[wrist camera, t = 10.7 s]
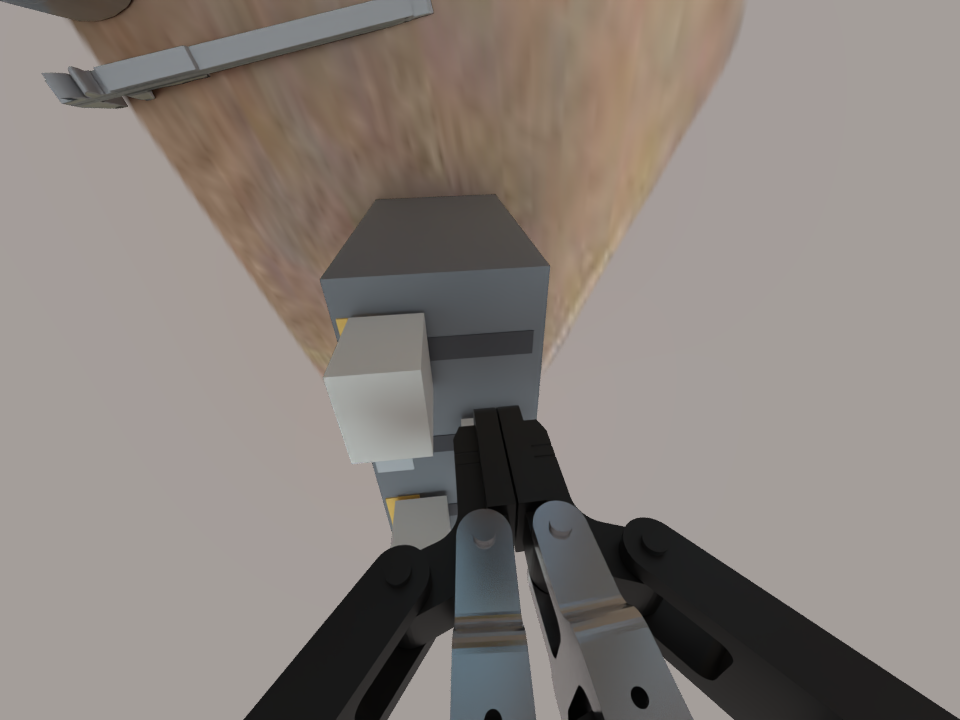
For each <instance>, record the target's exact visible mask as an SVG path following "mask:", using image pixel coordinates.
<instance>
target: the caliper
mask: <svg viewBox="0 0 960 720" xmlns="http://www.w3.org/2000/svg"><path fill="white" fill-rule="evenodd" d="M430 14H433V9H432V4H431V0H373V1H369V2H365V3H361V4H357V5H353V6H349V7H345V8H341V9H337V10H333V11H329V12H325V13H321V14H317V15H313V16H309V17H305V18H301V19H297V20H293V21H289V22H285V23H281V24H277V25H273V26H269V27H265V28H261V29H257V30H253V31H249V32H245V33H241V34H237V35H233V36H229V37H225V38H221V39H217V40H213V41H209V42H205V43H201V44H197V45H193V46H189V47H187V46H179V47H175V48H171V49H167V50H163V51H159V52H155V53H150V54H146V55H142V56H138V57H134V58H130V59H126V60H122V61H118V62H114V63H110V64H105V65H101V66H98V67H94V70H93V71H83V70H81V69H78V68H75V67H68V71H69V73H70V74H71V75H69V74H65V73H42V75H43V76H44V78H45V79H46V80H45V82H46V83H47V84H48V86H49V87H50V88H51V90H52V91H53V92H54V94H55V95H56V96H57V98H58V99H59V100H60V102H61V103H62V104H66V105H71V106H77V107H82V108H115V109H117V108H124V107H128V105H127V104H126V102H125V101H124V99H123V98H122V96H129V97H132V98H136V99H140V100H146V101H148V100H152V99H155V97H154V95H153V93H152V92H151V90H154V89H158V88H161V87H168V86H173V85H179V84H184V83H187V82H190V81H193V80H198V79H203V78H207V77H210V73H214V72H218V71H222V70H225V69H229V68H233V67H237V66H241V65H245V64H248V63H252V62H256V61H260V60H264V59H268V58H272V57H275V56H279V55H283V54H287V53H291V52H295V51H299V50H302V49H306V48H310V47H314V46H318V45H322V44H326V43H330V42H333V41H337V40H341V39H345V38H349V37H353V36H357V35H361V34H364V33H368V32H372V31H376V30H380V29H384V28H388V27H391V26H394V25H398V24H401V23H404V22H407V21H411V20H412V19H415V18H419V17H423V16H426V15H430Z"/></svg>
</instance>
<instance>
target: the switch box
mask: <svg viewBox="0 0 960 720" xmlns="http://www.w3.org/2000/svg"><path fill="white" fill-rule="evenodd" d="M549 272H550V265H549V264H548V263H547V261H546V260H545V259H544V257H543V256H542V255H541V253H540V252H539V251H538V250H537V248H536V247H535V246H534V244H533V243H532V242H531V240H530V239H529V238H528V236H527V235H526V234H525V232H524V231H523V230H522V229H521V227H520V226H519V225H518V223H517V222H516V221H515V219H514V218H513V217H512V215H511V214H510V213H509V212H508V210H507V209H506V208H505V206H504V205H503V204H502V202H501V201H500V200H499V198H498V197H497V196H496V195H495V194H491V195H468V196H446V197H423V198H400V199H378V200H375V202H374V203H373V205H372V206H371V207H370V209H369V210H368V212H367V213H366V215H365V216H364V217H363V219H362V220H361V222H360V223H359V224H358V226H357V227H356V229H355V230H354V232H353V233H352V234H351V236H350V237H349V239H348V240H347V242H346V243H345V244H344V246H343V247H342V249H341V250H340V251H339V253H338V254H337V256H336V257H335V259H334V260H333V261H332V263H331V264H330V266H329V267H328V269H327V270H326V271H325V273H324V274H323V276H322V277H321V278H320V282H321V286H322V289H323V293H324V296H325V300H326V303H327V307H328V310H329V314H330V317H331V321H332V324H333V328H334V331H335V335H336V338H337V342H338V341H339V339H340V336H341V334H342V332H343V329H344V327H345V325H346V322H347V320H348V318H353V317H368V316H383V315H398V314H413V313H424V316H425V325H426V333H427V341H428V349H429V357H430V365H431V374H432V382H433V456H431V457H421V458H410V459H400V460H389V461H379V462H372V464H373V468H374V471H375V474H376V478H377V482H378V485H379V488H380V492H381V496H382V499H383V503H384V506H385V510H386V513H387V516H388V520H389V523H390V527H391V531H392V528H393V519H394V509H395V501H398V500H407V499H417V498H427V497H437V496H446V495H447V502H448V511H449V519H450V527H451V530H452V528H453V527H454V525H455V523H456V520H457V515H458V505H457V490H456V474H455V459H454V444H453V439H454V436H455V434H456V432H457V430H458V428H459V427H461V419H468V418H473V409H481V408H492V407H495V408H496V407H502V406H513V405H519V407H520V411H521V414H522V417H523V420H534V419H536V420H537V408H538V397H539V386H540V374H541V363H542V352H543V340H544V329H545V318H546V306H547V295H548V283H549Z"/></svg>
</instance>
